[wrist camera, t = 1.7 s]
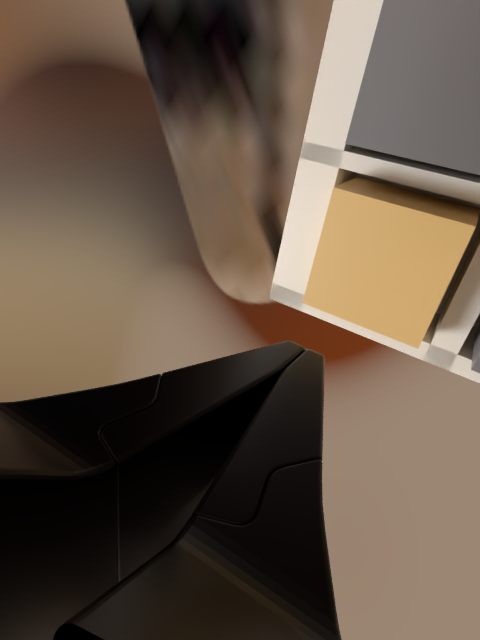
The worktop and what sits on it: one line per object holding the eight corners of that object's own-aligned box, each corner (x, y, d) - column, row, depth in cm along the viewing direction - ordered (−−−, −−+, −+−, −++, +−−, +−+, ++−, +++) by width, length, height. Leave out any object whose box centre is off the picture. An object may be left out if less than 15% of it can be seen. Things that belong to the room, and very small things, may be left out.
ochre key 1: (479, 208, 15) (475, 227, 12) (429, 316, 17) (418, 349, 15) (357, 176, 16) (333, 187, 14) (326, 279, 19) (302, 303, 16)
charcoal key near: (577, 0, 11) (596, -29, 9) (498, 168, 14) (498, 179, 12) (413, -14, 13) (394, -41, 11) (368, 139, 16) (345, 143, 13)
